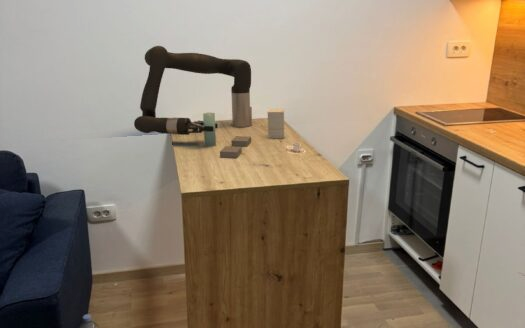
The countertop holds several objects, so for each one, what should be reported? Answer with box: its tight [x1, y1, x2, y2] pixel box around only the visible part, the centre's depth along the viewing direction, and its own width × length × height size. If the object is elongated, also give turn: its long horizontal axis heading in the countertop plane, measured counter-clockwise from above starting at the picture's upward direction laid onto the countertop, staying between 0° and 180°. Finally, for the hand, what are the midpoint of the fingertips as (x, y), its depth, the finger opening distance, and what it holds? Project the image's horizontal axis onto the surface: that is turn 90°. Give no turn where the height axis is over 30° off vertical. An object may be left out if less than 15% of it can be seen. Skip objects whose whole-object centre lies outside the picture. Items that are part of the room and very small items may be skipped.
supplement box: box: [267, 108, 285, 139], centre depth 226 cm, size 7×7×13 cm
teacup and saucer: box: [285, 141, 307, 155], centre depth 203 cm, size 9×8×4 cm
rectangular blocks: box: [219, 135, 252, 159], centre depth 207 cm, size 25×7×2 cm, turn 168°
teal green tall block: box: [202, 112, 217, 147], centre depth 213 cm, size 5×5×14 cm
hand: (215, 127), depth 212 cm, fingers closed on teal green tall block, 5 cm apart
